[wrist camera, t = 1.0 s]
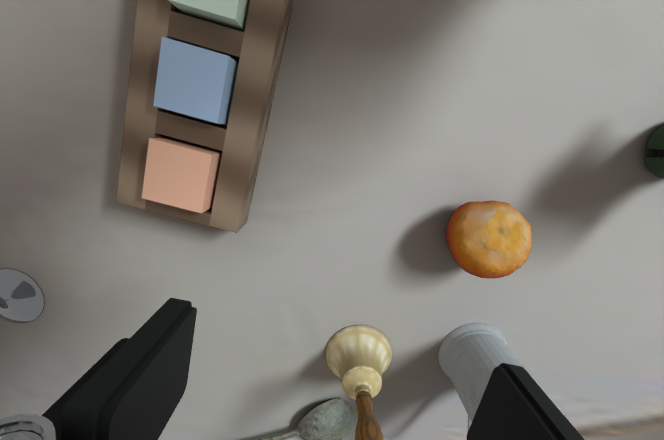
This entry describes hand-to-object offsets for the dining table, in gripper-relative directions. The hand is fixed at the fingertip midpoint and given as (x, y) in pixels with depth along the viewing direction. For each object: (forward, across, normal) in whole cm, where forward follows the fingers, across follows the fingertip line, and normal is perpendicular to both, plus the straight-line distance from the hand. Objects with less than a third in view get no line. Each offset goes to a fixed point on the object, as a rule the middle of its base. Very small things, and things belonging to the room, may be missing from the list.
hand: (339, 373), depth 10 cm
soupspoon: (+28, 0, +32) cm, 43 cm away
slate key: (+24, +14, -9) cm, 30 cm away
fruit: (+27, -16, 0) cm, 32 cm away
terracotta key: (+24, +15, 0) cm, 28 cm away
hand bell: (+27, -8, +18) cm, 34 cm away
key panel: (+27, +14, -9) cm, 32 cm away
